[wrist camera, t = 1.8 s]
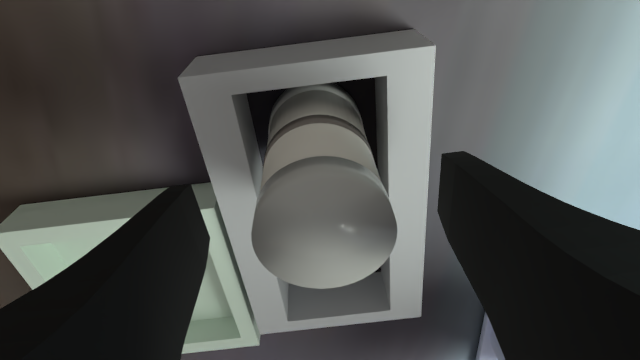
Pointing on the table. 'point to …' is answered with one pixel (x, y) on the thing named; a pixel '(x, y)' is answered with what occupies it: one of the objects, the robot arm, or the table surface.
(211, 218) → the parts tray
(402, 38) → the gray rectangular frame
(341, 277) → the fuse
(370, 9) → the table surface
